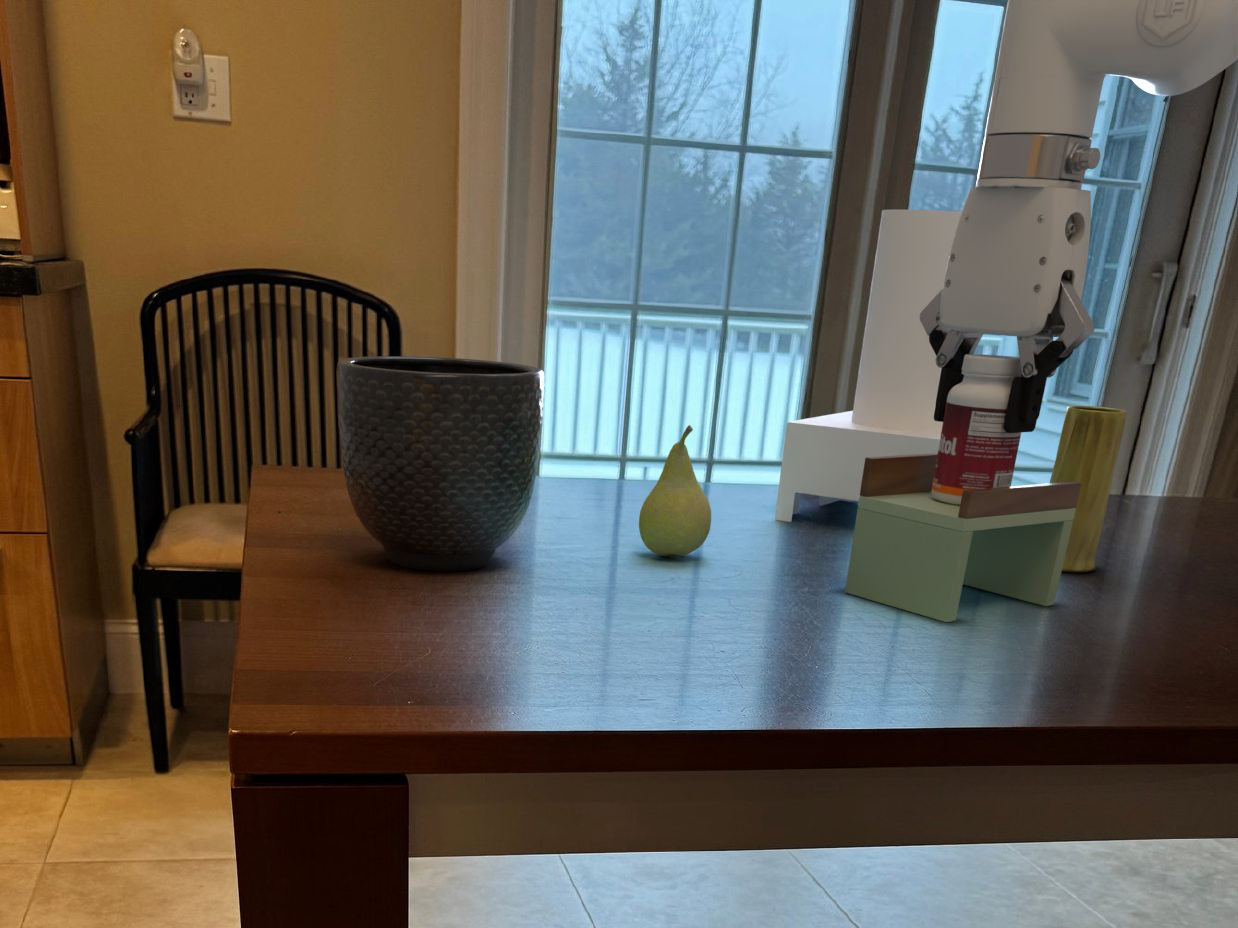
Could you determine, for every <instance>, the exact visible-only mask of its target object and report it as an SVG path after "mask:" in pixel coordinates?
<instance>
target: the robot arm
mask: <svg viewBox="0 0 1238 928" xmlns="http://www.w3.org/2000/svg"><path fill="white" fill-rule="evenodd" d="M1004 16H1005V17H1004V21H1003V28H1002V33H1001V34H1002V35H1001V37H1000V38H1001V40H1000V45H999V51H998V56H997V62H996V67H995V68H996V70H995V74H994V80H993V84H992V85H993V86H992V90H991V91H992V92H991V97H990V103H989V108H988V113H987V119H986V125H985V131H984V138H983V144H982V148H981V155H980V161H979V166H978V172H977V179H976V181H975V182H976V183H975V187H972V188H971V187H970V188H969V191H968V193H967V196H966V199H965V201H964V204H963V207H962V211H961V212H962V213H961V216H960V219H959V223H958V226H957V230H956V233H955V237H954V240H953V244H952V248H951V252H950V256H949V261H948V265H947V269H946V274H945V280H944V285H943V289H942V290H941V291H940V292H939V293H938V294H937V295H936V297H935V298H934V299H933V300H932V301H931V302H930V303H929V304H928V305H927V306H926V307H925V308H924V309H923V310H922V312H921V313H920V321H921V323H922V325H923V327H924V329H925V331H926V333H927V335H928V336H929V342H930V344H931V346H932V348H933V350H934V352H935V354H936V356H937V357H936V365H937V366H938V367H939V368H942V369H941V375H940V380H939V386H938V392H937V398H936V406H935V412H934V420H935V421H939V422H943V420H944V413H945V408H946V402H947V397H948V394H949V391H950V390H951V389H952V388H953V387H954V386H955V385H957V384H959V383H961V382H962V381H963V378H964V374H962V373H961V372H962V365H963V360H964V356H965V355H966V354H975V351H976V349H977V347H978V346H979V344H980V342H981V339H982V337H983V336H984V334H985V335H992V336H993V335H994V336H1004V337H1005V336H1006V337H1016V342H1017V351H1018V357H1019V359H1020V367H1021V373H1022V374H1021V377H1014V379H1013V381H1012V385H1011V390H1010V396H1009V401H1008V406H1007V411H1006V416H1005V421H1004V427H1003V428H1004V430H1005V431H1006V432H1010V433H1019V432H1021V433H1033V432H1034V431H1035V429H1036V425H1037V421H1038V419H1039V418H1040V415H1041V408H1042V405H1043V399H1044V394H1045V389H1046V384H1047V379H1048V378H1052V377H1054V375H1055V374H1056V372H1057V369H1058V368H1059V367H1060V366H1061V365H1062V364H1063V363H1064V362H1065V361H1066V360H1068V359H1069V358H1070V357H1071V356H1072V354H1073V353H1074V351H1075V350H1076V349H1078V348H1079V347H1080V346H1081V345H1082V344H1083V343H1084V342H1086V340H1087V339H1088V338H1089V337H1091V336H1092V335H1093V333H1094V332H1095V323H1094V321H1093V320H1092V318H1091V316H1090V315H1089V312H1088V311H1087V309H1086V307H1085V306H1084V304H1083V302H1082V298H1083V293H1084V286H1085V280H1086V273H1087V267H1088V266H1087V265H1088V258H1089V251H1090V238H1091V227H1092V225H1091V223H1092V193H1091V191H1092V190H1089V189H1088V190H1087V189H1082V186H1083V182H1084V180H1085V175H1086V171H1087V170H1095V169H1096V168H1097V167H1098V165H1099V163H1100V160H1101V151H1100V149H1099V148H1098V147H1091V146H1092V141H1093V140H1092V138H1093V134H1094V129H1095V125H1096V119H1097V114H1098V110H1099V104H1100V99H1101V95H1102V90H1103V86H1104V85H1103V84H1104V82H1105V81H1104V80H1105V78H1106V76H1107V75H1108V76H1115V77H1124V78H1128V79H1130V80H1131V81H1132V82H1133V83H1134V84H1135V85H1136V86H1137V87H1138V88H1140V89H1141V90H1143V92H1146V93H1149V94H1151V95H1154V96H1159V97H1173V96H1177V95H1182V94H1186V93H1188V92H1190V91H1192V90H1195V89H1197V88H1199V87H1200V86H1202V85H1204V84H1206V83H1207V82H1208V81H1210V80H1212V79H1213V78H1214V77H1215V76H1218V75H1219V74H1220V73H1221V72H1223V71H1224V70H1226V69H1227V68H1228V67H1230V66H1231V65H1233V64H1234V63H1235V62H1236V61H1238V0H1007V4H1006V11H1005V15H1004ZM949 329H950V330H949ZM1054 338H1056V339H1055V340H1054Z"/></svg>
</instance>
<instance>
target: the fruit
mask: <svg viewBox="0 0 1238 928" xmlns="http://www.w3.org/2000/svg"><path fill="white" fill-rule="evenodd" d="M693 430H694V429H693V427H692V425H690V424H689V425H687V426H686V428H685V430H684V432H683V433H682V436H681V437H680V440H679V441H677V442H675V443H674V444H672V447H671V449H670V450H669V452H668V455H667V457H666V459H665V463H664V465H663V468H662V471H661V474H660V476H659V478H658V480H657V481H656V484H655V485H654V487H653V488H652V489H651V491H650V492H649V494H648V495H647V497H646V498H645V499H644V501H643V503H642V506H641V508H640V511H639V516H638V517H639V518H638V528H639V529H638V530H639V536H640V538H641V541H642V543H643V544H644V546H645V547H646V548H647V549H648V550H649V551H650V552H652V553H653V554H656V555H658V556H662V557H669V558H676V557H679V558H682V559H683V558H685V556H687V555H689V554H691V553H693V552H695V551H696V550H697V549H699V548H700V547H701V546H702V545H703V544H704V543H705V542H706V540H707V538H708V536H709V534H710V531H711V525H712V508H711V504H710V501H709V499H708V497H707V494H706V493H705V492H704V490H703V488H702V487H701V485H700V483H699V481H698V479H697V476H696V473H695V471H694V468H693V464H692V461H691V458H690V455H689V451H688V447H687V445H686V444H685V443H686V438H688V436H689V435H690V434H691V433H692V432H693Z"/></svg>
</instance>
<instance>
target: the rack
mask: <svg viewBox="0 0 1238 928" xmlns="http://www.w3.org/2000/svg"><path fill="white" fill-rule="evenodd" d="M937 455H938V453H934V454H917V455H899V456H882V457H866V458H865V463H864V470H863V476H862V483H861V490H860V496H859V501H858V504H857V509H856V517H855V524H854V530H853V535H852V543H851V549H850V557H849V563H848V569H847V576H846V582H845V589H844V593H846V594H849V595H853V596H856V597H860V598H863V599H866V600H870V601H873V602H876V603H879V604H883V605H886V606H889V607H892V608H897V609H900V610H903V611H907V612H909V613H912V614H913V613H914V614H917V615H920V616H924V617H925V618H926V617H927V618H930V619H934V620H937V621H941V622H944V623H951V622H955V621H956V620H957V616H958V610H959V606H960V600H961V595H962V590H963V585H965V586H968V587H971V588H975V589H979V590H983V591H986V592H990V593H994V594H998V595H1001V596H1006V597H1009V598H1013V599H1016V600H1019V601H1024V602H1028V603H1032V604H1035V605H1039V606H1043V607H1049V606H1054V605H1055V602H1056V598H1057V593H1058V589H1059V585H1060V582H1061V581H1060V580H1061V576H1062V573H1063V572H1062V567H1063V563H1064V559H1065V554H1066V550H1067V545H1068V541H1069V537H1070V532H1071V528H1072V524H1073V519H1074V514H1075V510H1076V506H1077V501H1078V497H1079V493H1080V488H1081V484H1082V483H1081V482H1075V481H1071V482H1059V483H1050V482H1048V483H1035V484H1025V485H1024V484H1023V485H1011V486H1010V487H998V488H986V489H973V490H963V493H962V498H961V504H960V505H954V504H949V503H945V502H941V501H938V500H936V499H934V498H933V496H932V493H931V491H932V483H933V478H934V472H935V466H936V461H937Z"/></svg>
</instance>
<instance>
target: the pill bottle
mask: <svg viewBox="0 0 1238 928" xmlns="http://www.w3.org/2000/svg"><path fill="white" fill-rule="evenodd" d="M961 373H962V374H964V378H963V381H962V382H961V383H959V384H957V385H955V386H954V387H953V388H952V389H951V390H950V391H949V394H948V397H947V402H946V408H945V413H944V420H943V426H942V432H941V438H940V444H939V450H938V455H937V461H936V466H935V472H934V478H933V483H932V491H931V493H932V496H933V498H934V499H936V500H938V501H941V502H945V503H949V504H954V505H960V504H961V498H962V493H963V490H973V489H986V488H998V487H1010V486H1012V482H1013V477H1014V473H1015V468H1016V467H1015V466H1016V461H1017V458H1018V457H1017V456H1018V451H1019V446H1020V443H1021V436H1022V432H1019V433H1010V432H1006V431H1005V430H1004V428H1003V427H1004V421H1005V416H1006V411H1007V406H1008V401H1009V396H1010V390H1011V385H1012V381H1013V379H1014V377H1021V374H1022V373H1021V367H1020V359H1019V356H1012V355H1011V356H1010V355H998V354H997V355H995V354H981V353H980V354H979V353H978V354H977V353H976V354H975V353H973V354H966V355H965V356H964V360H963V365H962V372H961Z"/></svg>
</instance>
